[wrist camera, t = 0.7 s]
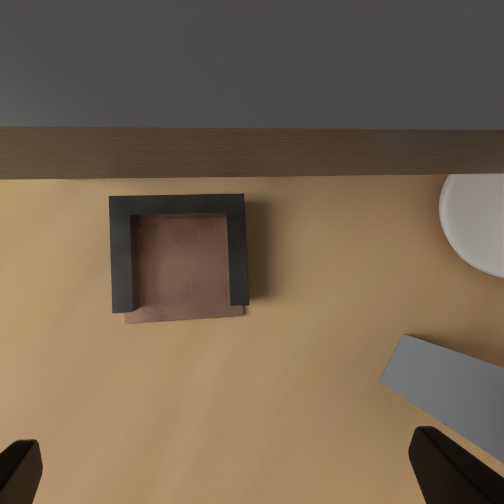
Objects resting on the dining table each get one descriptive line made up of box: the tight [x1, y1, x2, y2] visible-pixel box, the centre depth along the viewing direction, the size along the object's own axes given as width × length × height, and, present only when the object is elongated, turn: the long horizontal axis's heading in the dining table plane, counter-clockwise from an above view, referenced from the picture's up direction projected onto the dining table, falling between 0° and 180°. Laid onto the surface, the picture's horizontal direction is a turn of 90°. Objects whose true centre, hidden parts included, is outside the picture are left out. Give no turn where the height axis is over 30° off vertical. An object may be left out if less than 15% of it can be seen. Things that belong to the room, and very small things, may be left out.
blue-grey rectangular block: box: [379, 334, 504, 463], centre depth 20 cm, size 4×4×13 cm
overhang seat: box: [0, 0, 504, 324], centre depth 14 cm, size 12×17×21 cm
